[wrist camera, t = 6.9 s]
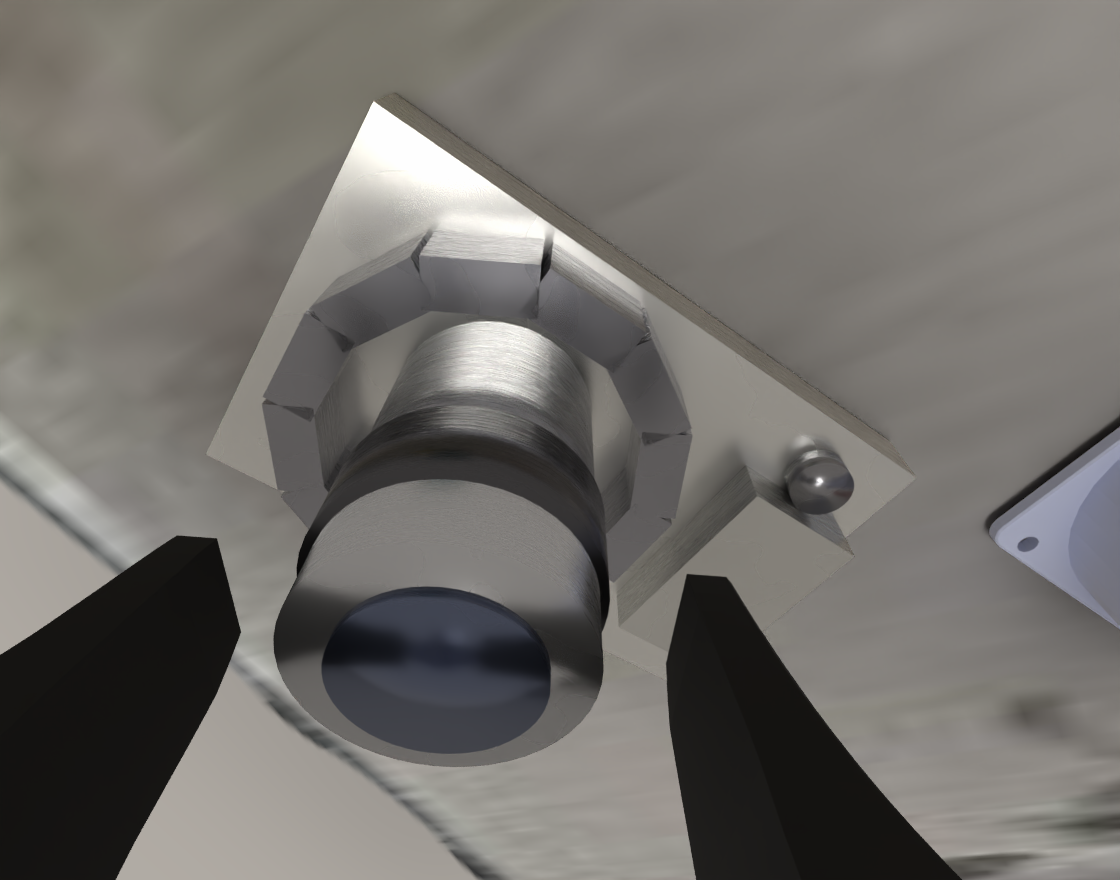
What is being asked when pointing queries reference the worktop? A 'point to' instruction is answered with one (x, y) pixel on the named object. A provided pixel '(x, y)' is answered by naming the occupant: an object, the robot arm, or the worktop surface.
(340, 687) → the lens
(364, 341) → the octagonal collar plate
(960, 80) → the worktop surface
